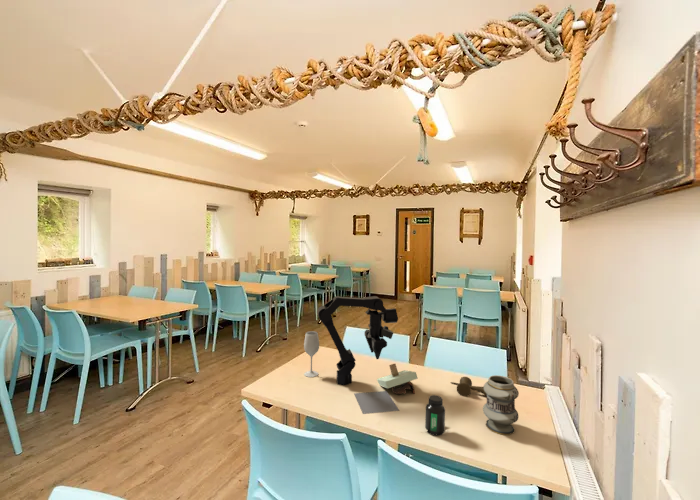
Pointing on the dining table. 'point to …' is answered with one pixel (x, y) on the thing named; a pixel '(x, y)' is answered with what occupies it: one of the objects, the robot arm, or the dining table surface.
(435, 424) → the supplement bottle
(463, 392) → the kendama
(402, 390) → the pottery mug
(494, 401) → the apothecary jar
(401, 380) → the lid
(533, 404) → the dining table surface
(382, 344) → the robot arm
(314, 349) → the wineglass
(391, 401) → the mat
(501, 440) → the dining table surface
